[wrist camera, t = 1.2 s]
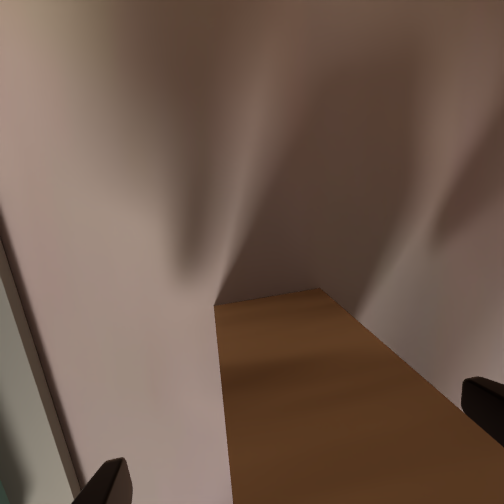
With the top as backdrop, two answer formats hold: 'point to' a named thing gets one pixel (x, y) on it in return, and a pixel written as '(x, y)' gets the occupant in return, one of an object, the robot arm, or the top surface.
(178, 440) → the top surface
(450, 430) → the walnut peg
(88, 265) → the top surface
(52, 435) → the socket block
